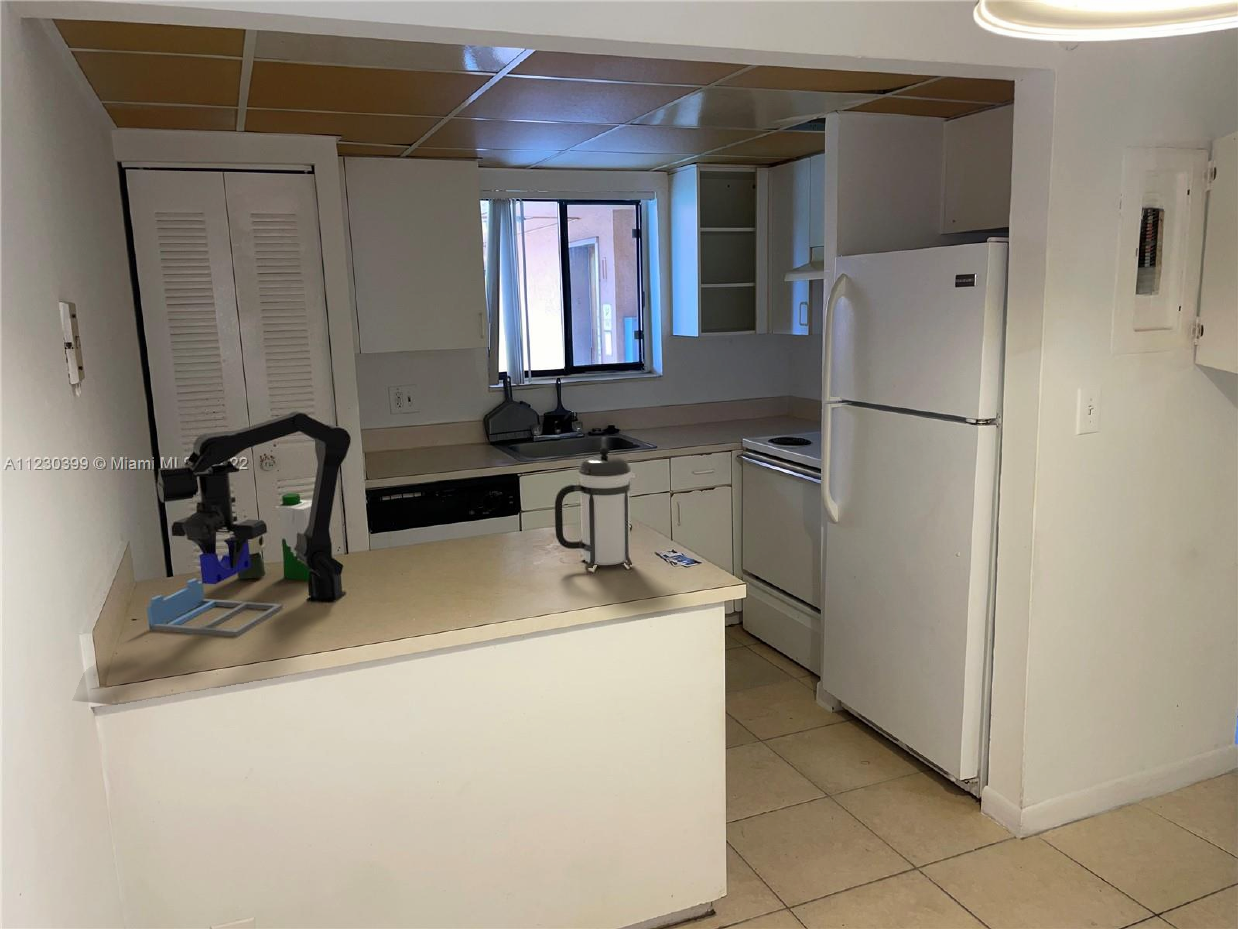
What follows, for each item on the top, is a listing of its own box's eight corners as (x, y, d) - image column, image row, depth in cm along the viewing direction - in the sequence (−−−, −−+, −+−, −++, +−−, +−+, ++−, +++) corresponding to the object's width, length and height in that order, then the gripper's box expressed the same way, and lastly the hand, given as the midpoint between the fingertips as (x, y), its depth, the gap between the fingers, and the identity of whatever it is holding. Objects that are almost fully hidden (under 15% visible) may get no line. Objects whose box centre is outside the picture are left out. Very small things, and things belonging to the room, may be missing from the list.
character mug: (269, 581, 213) (264, 529, 210) (237, 586, 210) (231, 533, 207) (265, 569, 222) (260, 519, 220) (234, 573, 219) (229, 522, 217)
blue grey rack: (282, 608, 194) (280, 581, 193) (237, 636, 179) (234, 607, 178) (200, 602, 199) (198, 576, 197) (149, 629, 183) (146, 601, 182)
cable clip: (231, 565, 192) (229, 538, 191) (250, 566, 191) (248, 539, 190) (195, 583, 181) (192, 554, 180) (215, 584, 180) (212, 556, 179)
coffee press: (597, 551, 233) (594, 439, 227) (647, 561, 224) (646, 445, 218) (554, 569, 219) (551, 449, 213) (606, 580, 210) (604, 456, 204)
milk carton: (301, 568, 223) (294, 490, 219) (331, 571, 220) (325, 492, 216) (277, 579, 214) (270, 498, 211) (309, 582, 212) (302, 501, 208)
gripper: (148, 502, 177) (157, 577, 180) (232, 506, 173) (239, 582, 176) (185, 490, 188) (193, 561, 191) (265, 493, 184) (271, 565, 187)
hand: (223, 567), depth 186 cm, fingers closed on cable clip, 4 cm apart
